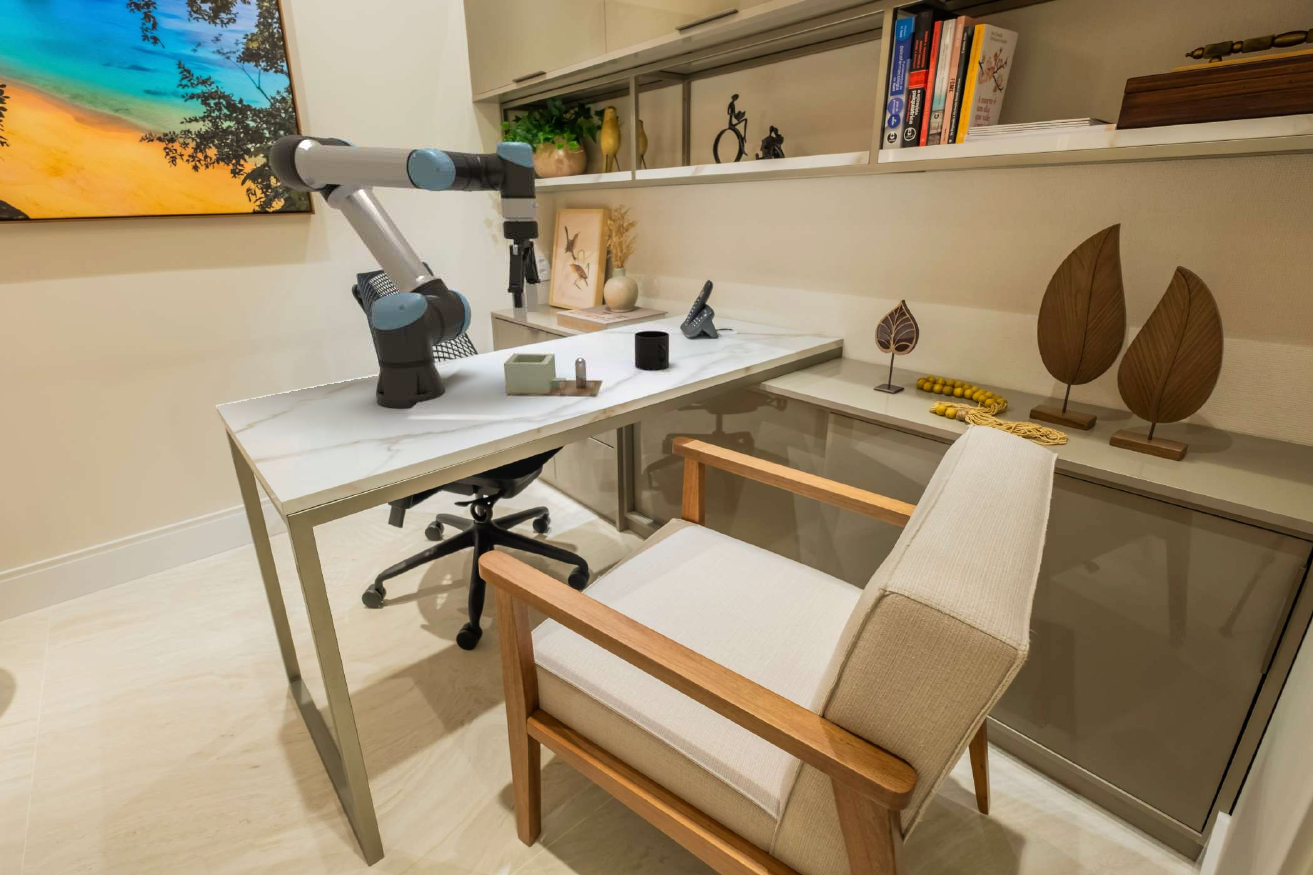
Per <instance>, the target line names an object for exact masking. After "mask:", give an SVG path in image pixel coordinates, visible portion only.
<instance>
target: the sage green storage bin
mask: <svg viewBox="0 0 1313 875" xmlns="http://www.w3.org/2000/svg"><path fill="white" fill-rule="evenodd" d="M503 368H504V369H503V371H504V383H505V392H506V394H508V393H549V392H550V391H551V389H560V385H559V383H560V382H564V383H565V386H566V382H565V380H566V377H557V376H556V375H557V374H556V373H557V372H556V355H555V353H513V354H512V355H510V357H509V358H508V359H506V361H504V363H503Z"/></svg>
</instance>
